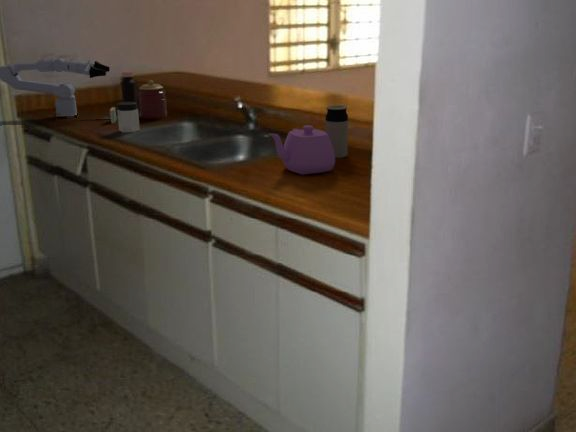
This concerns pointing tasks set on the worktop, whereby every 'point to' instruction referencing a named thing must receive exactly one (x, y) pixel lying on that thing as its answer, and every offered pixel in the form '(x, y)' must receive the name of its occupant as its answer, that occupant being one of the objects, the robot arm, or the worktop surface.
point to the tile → (113, 115)
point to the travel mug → (337, 129)
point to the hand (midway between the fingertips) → (107, 71)
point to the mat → (110, 117)
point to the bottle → (128, 88)
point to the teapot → (306, 151)
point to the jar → (128, 117)
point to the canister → (152, 101)
